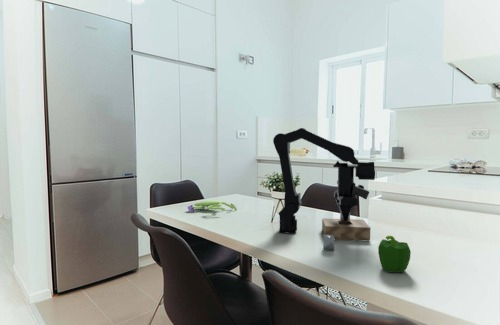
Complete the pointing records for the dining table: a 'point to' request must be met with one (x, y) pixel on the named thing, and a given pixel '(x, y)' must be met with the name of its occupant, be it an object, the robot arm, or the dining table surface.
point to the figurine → (210, 205)
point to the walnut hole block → (346, 229)
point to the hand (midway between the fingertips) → (344, 219)
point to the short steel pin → (328, 242)
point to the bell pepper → (393, 255)
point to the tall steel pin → (343, 219)
